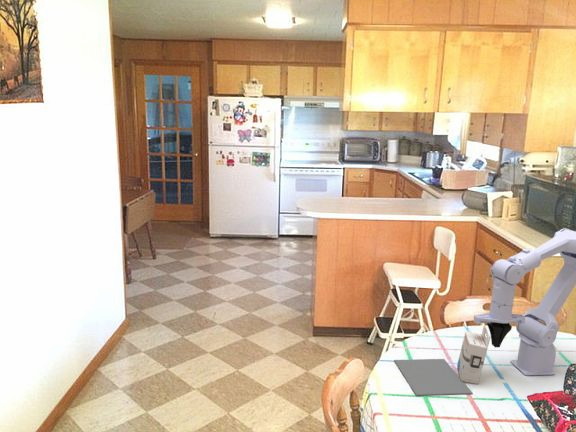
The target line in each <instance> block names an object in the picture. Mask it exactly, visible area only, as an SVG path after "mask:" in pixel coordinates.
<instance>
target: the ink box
mask: <svg viewBox="0 0 576 432" xmlns="http://www.w3.org/2000/svg"><path fill="white" fill-rule="evenodd" d="M490 341H491V335H490V334H489V331H488V330H487V327H486V326H485V325H483V328H482V333H481V334H480V333H476V332H472V331H468V330H466V331H465V332H464V337H463V341H462V345H461V348H460V353H459V357H458V361H457V365H456V366H457V370H458V375H459V377H460V378H461V381H463V382H466V383H471V384H476V385H478V384H479V382H480V378H481V375H482V371H483V366H484V363H485V360H486V357H487V351H488V347H489V344H490Z"/></svg>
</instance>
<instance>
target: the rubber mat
mask: <svg viewBox="0 0 576 432" xmlns="http://www.w3.org/2000/svg"><path fill="white" fill-rule="evenodd" d="M393 362H394V364H395V365H396V366H397V368H398V370H399V372H400V373H401V374H402V376H403V378H404V379H405V381H406V383H407V384H408V385H409V387H410V389H411V391H412V392H413V394H414V395H415V396H416V397H426V396H427V397H428V396H456V395H457V396H458V395H462V396H463V395H473V394H474V393H473V391H472V390H471V389H470V388H469V387H468V386H467V384H466V383H465V381H461V378H460V375H459V374H457V373H456V371H455V370H454V369H453V367H451V365H450V364H449V363H448V362H447V361H446V359H445V358H428V359H427V358H426V359H425V358H424V359H423V358H419V359H417V358H416V359H394V360H393Z"/></svg>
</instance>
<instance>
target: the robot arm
mask: <svg viewBox="0 0 576 432" xmlns="http://www.w3.org/2000/svg"><path fill="white" fill-rule="evenodd" d="M557 254H560V257H561V258H562V259H563V262H564V263H563V265H562V267H561V269H560V271H559V272H558V274H557V275H556V277H555V278H554V280H553V281H552V283H551V284H550V286H549V288H548V289H547V291H546V292H545V294H544V296H542V299H541V301H540V302H539V303H538V305H537V307H533V308H529V309H527V310H526V311H525V313H524V314H517V313H516V314H515V313H513V309H514V303H515V302H514V301H515V294H516V289H517V284H519V283H520V282H521V280H522V279H523V277H525V276H526V274H528V273H529V272H531V271H533V270H535V269H537V268H539V267H541V264H542V261H544V260H546V259H548V258H550V257H553V256H555V255H557ZM489 271H490V275H491V277H492V281H491V282H492V283H493V284H492V290H491V298H490V299H491V300H490V306H489V312H486V313H482V314H474V315H473V323H475V324H476V325H481V324H486V325H487V328H488V330H489V331H488V332H489V333H490V334H489V336H490V341H491V345H492V346H493V347H494V348H500V347H501V345H502V342H503V341H504V340H505V338H506V337H507V334H509V332H511V330H512V328H513V326H512V325H511V324H512V323H513V324H514V323H515V324H516V325H515V329H516V331H517V333H518V334H519V335H518V337H519V338H520V340H519V346H518V347H519V348H518V354H517V359H511V360H510V361H509V362H510V363H511V364H512V365H513V366H514V367H515V368H516V369H518V370H519V371H520V372H521V374H523V375H524V376H552V375H553V376H554V375H555V372H554V369H555V360H556V357H557V352H556V351H557V350H556V347H555V345H554V343H555V341H556V338H557V335H558V331H559V330H560V325H559V322H558V320H557V319H556V317H557V315H558V314H559V312H560V311H561V309H562V307H563V306H564V304H565V302H566V301H567V300H568V299H569V296H570V295H571V294H572V292H573V290H574V288H575V287H576V230H571V229H569V228H565V227H564V228H562V229H560V230H558V231H555V233H554V235H553V237H552V238H551V239H549V240H548V241H546V242H544V243H543V244H541V245H540V246H538V247H536V248H535V249H532V248H527V247H526V248H523V249H522V251H520V252H518V253H515V255H512V256H510V257H509V258H507V259H503V258H501V259H500V258H499V259H498V260H496V261H494V263H493V264H492V266H491V267H490V269H489Z"/></svg>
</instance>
